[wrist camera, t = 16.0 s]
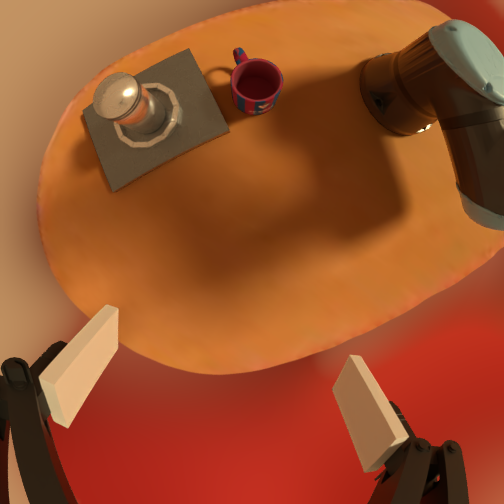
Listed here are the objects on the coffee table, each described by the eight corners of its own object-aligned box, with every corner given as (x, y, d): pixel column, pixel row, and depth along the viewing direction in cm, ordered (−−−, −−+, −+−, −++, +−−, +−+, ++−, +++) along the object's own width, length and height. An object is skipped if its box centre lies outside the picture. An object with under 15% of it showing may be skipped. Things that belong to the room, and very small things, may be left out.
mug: (240, 120, 37) (239, 108, 30) (220, 66, 34) (216, 47, 28) (282, 108, 37) (290, 95, 30) (261, 55, 34) (265, 35, 28)
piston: (170, 100, 34) (143, 72, 23) (159, 136, 36) (128, 120, 24) (136, 97, 34) (101, 71, 22) (126, 132, 35) (86, 117, 23)
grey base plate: (190, 52, 33) (187, 44, 31) (230, 132, 37) (229, 128, 35) (86, 112, 35) (78, 109, 32) (116, 191, 39) (109, 192, 36)
